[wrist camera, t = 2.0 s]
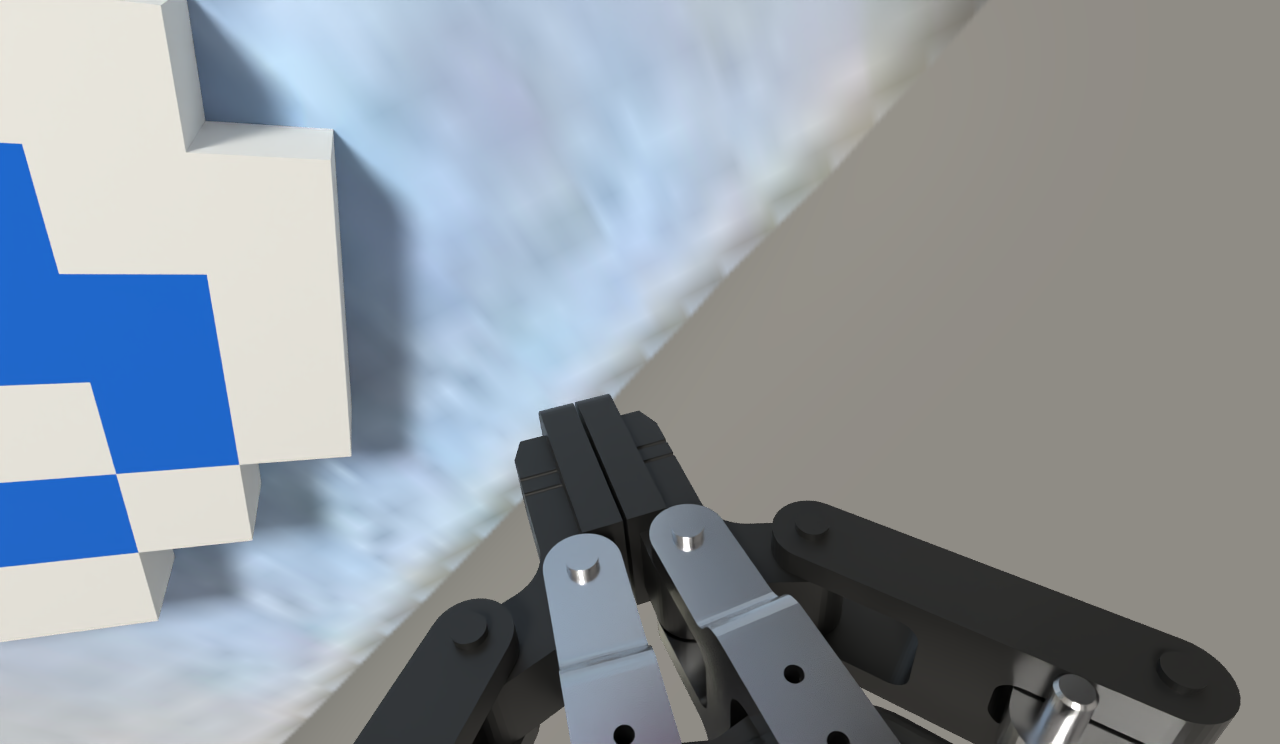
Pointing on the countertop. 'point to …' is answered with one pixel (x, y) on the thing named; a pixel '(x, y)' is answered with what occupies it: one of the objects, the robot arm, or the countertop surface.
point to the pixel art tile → (148, 311)
